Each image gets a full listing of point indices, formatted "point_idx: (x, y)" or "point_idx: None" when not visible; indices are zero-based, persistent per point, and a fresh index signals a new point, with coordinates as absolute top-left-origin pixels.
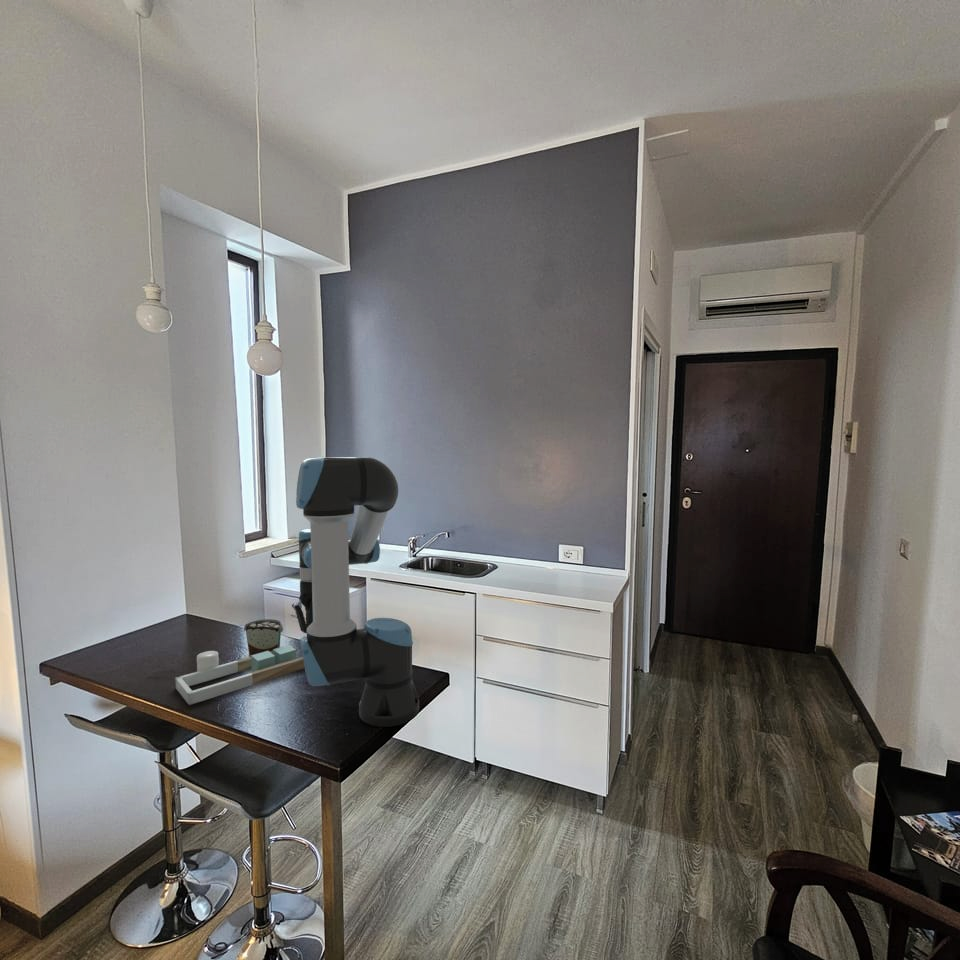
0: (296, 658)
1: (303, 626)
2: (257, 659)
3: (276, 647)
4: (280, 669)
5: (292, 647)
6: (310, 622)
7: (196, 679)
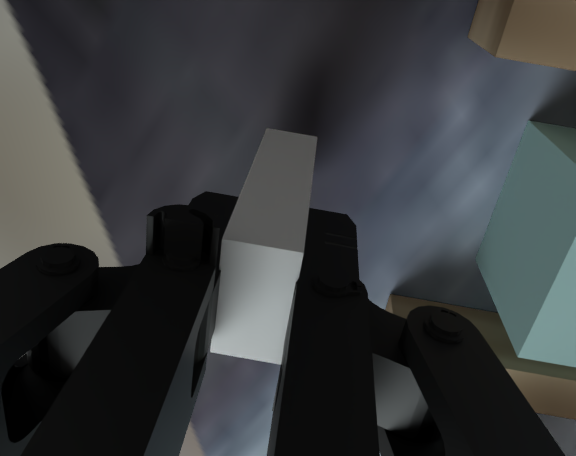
0: (554, 144)
1: (529, 428)
2: None
3: None
4: None
5: (560, 277)
6: (353, 441)
7: None
